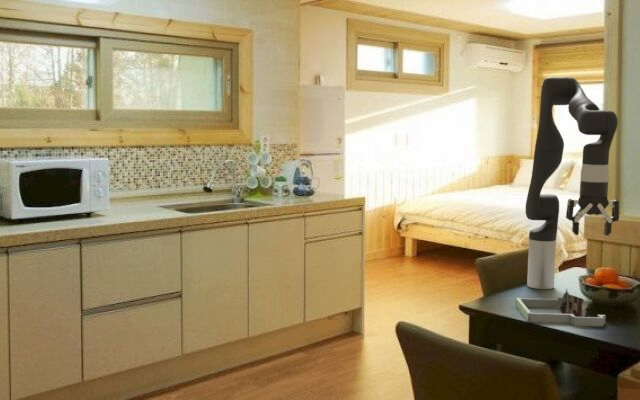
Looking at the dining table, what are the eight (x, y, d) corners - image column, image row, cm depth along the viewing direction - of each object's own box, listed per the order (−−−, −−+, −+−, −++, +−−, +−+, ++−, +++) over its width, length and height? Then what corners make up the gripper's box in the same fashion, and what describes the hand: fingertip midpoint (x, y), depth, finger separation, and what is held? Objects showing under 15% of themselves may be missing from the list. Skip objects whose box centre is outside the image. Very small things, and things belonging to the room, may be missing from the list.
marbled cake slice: (589, 323, 200) (593, 290, 207) (565, 315, 201) (570, 282, 208) (577, 337, 208) (582, 304, 214) (554, 329, 209) (560, 296, 215)
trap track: (514, 303, 220) (514, 296, 219) (584, 305, 218) (584, 297, 217) (529, 324, 197) (530, 315, 197) (607, 326, 195) (608, 318, 195)
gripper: (615, 179, 199) (612, 233, 201) (565, 178, 200) (562, 232, 203) (624, 181, 192) (620, 237, 194) (572, 180, 193) (569, 236, 195)
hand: (591, 234), depth 198 cm, fingers open, 8 cm apart
